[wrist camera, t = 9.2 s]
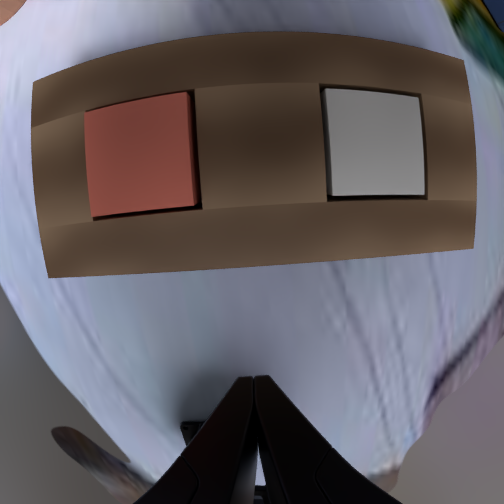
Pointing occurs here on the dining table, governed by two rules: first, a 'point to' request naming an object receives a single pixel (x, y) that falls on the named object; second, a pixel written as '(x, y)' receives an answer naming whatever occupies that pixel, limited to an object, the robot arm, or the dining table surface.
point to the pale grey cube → (372, 143)
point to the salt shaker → (9, 9)
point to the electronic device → (496, 11)
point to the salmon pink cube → (142, 155)
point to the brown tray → (254, 156)
